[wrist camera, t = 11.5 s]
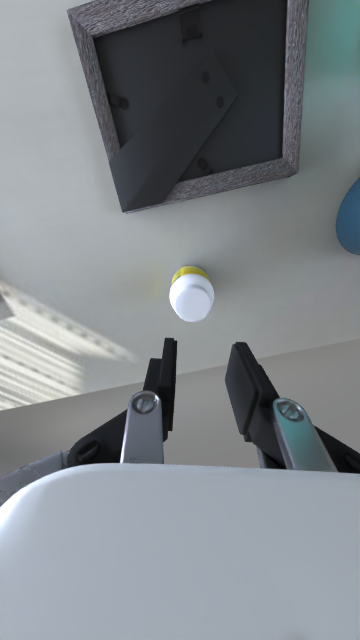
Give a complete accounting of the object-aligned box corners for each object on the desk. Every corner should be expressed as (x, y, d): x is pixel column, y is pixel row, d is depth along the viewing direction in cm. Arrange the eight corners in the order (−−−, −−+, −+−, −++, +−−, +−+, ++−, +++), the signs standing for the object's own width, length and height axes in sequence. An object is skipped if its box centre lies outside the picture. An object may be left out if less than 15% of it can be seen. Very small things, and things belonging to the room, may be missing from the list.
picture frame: (126, 213, 25) (291, 176, 23) (122, 212, 23) (300, 171, 21) (75, 26, 18) (302, -48, 16) (63, 5, 17) (316, -82, 15)
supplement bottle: (175, 260, 28) (172, 275, 19) (211, 267, 28) (225, 285, 19) (169, 295, 30) (164, 323, 21) (203, 301, 30) (211, 331, 22)
